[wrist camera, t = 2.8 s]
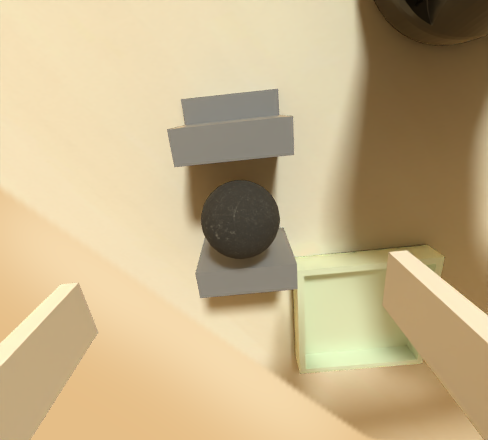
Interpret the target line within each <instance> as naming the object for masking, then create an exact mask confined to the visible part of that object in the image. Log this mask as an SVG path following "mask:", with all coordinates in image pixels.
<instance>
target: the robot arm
mask: <svg viewBox="0 0 488 440" xmlns="http://www.w3.org/2000/svg"><path fill="white" fill-rule="evenodd" d="M374 1H375V3H376V5H377V6H378V8H379V10H380V11H381V13H382V14H383V16H384V17H385V18H386V19H387V21H388V22H389V23H390V24H391V25H392V26H393V27H394V28H395V29H397V30H398V31H399V32H400V33H402V34H403V35H405V36H407V37H409V38H411V39H413V40H415V41H418V42H421V43H425V44H430V45H453V44H459V43H463V42H467V41H470V40H473V39H477V38H480V37H483V36H486V35H488V0H374ZM382 305H383V307H384V308H385V309H386V311H387V312H388V313H389V315H390V316H391V317H392V319H393V320H394V321H395V323H396V324H397V325H398V327H399V328H400V329H401V330H402V332H403V333H404V334H405V336H406V337H407V338H408V340H409V341H410V342H411V344H412V345H413V346H414V348H415V349H416V350H417V352H418V353H419V354H420V356H421V357H422V358H423V360H424V361H425V362H426V364H427V365H428V366H429V368H430V369H431V370H432V371H433V373H434V374H435V375H436V377H437V378H438V379H439V381H440V382H441V383H442V385H443V386H444V387H445V389H446V390H447V391H448V393H449V394H450V395H451V397H452V398H453V399H454V401H455V402H456V403H457V405H458V406H459V407H460V409H461V410H462V411H463V412H464V414H465V415H466V416H467V418H468V419H469V420H470V422H471V423H472V424H473V426H474V427H475V428H476V430H477V431H478V432H479V434H480V435H481V436H482V438H483V439H484V440H488V315H487V314H485V313H484V312H483V311H482V310H480V309H479V308H478V307H477V306H475V305H474V304H473V303H472V302H470V301H469V300H468V299H467V298H466V297H464V296H463V295H462V294H461V293H459V292H458V291H457V290H456V289H454V288H453V287H452V286H451V285H449V284H448V283H447V282H446V281H444V280H443V279H442V278H441V277H440V276H438V275H437V274H436V273H435V272H433V271H432V270H431V269H430V268H428V267H427V266H426V265H425V264H423V263H422V262H421V261H420V260H418V259H417V258H416V257H415V256H414V255H412V254H411V253H410V252H409V251H407V250H405V251H395V252H389V253H388V262H387V270H386V278H385V287H384V295H383V304H382ZM97 334H98V331H97V328H96V326H95V323H94V321H93V318H92V315H91V313H90V310H89V308H88V305H87V303H86V300H85V298H84V295H83V293H82V290H81V288H80V285H79V283H71V284H61V285H60V286H59V287H58V288H57V289H56V290H55V291H54V292H53V293H51V295H50V296H48V298H46V299H45V300H44V301H43V302H42V303H41V304H40V305H39V306H38V307H37V308H36V309H35V310H34V311H33V312H32V313H31V314H30V315H29V316H28V317H27V318H26V319H25V320H24V321H23V322H22V323H21V324H20V325H19V326H18V327H17V328H16V329H15V330H14V331H12V333H10V334H9V335H8V336H7V337H6V338H5V339H4V340H3V341H2V342H1V343H0V440H30V439H31V438H32V436H33V435H34V433H35V432H36V430H37V429H38V427H39V425H40V423H41V422H42V421H43V419H44V417H45V416H46V414H47V413H48V411H49V410H50V408H51V406H52V405H53V403H54V401H55V400H56V398H57V397H58V395H59V394H60V392H61V391H62V389H63V387H64V386H65V384H66V382H67V381H68V379H69V378H70V376H71V375H72V373H73V371H74V370H75V368H76V367H77V365H78V364H79V362H80V360H81V359H82V357H83V356H84V354H85V353H86V351H87V349H88V348H89V346H90V345H91V343H92V341H93V340H94V338H95V337H96V335H97Z"/></svg>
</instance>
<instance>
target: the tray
mask: <svg viewBox="0 0 488 440" xmlns="http://www.w3.org/2000/svg"><path fill="white" fill-rule="evenodd" d="M405 250H407V251H409V252H410V253H411V254H412V255H414V256H415V257H416V258H417V259H418V260H420V261H421V262H422V263H423V264H425V265H426V266H427V267H428V268H430V269H431V270H432V271H433V272H435V273H436V274H437V275H438V276H440V277H441V273H442V269H443V264H444V259H445V257H444V256H443V255H441V254H440V253H438V252H437V251H436V250H434V249H433V248H431V247H430V246H429V245H419V246H409V247H398V248H387V249H377V250H366V251H356V252H345V253H334V254H324V255H313V256H303V257H295V260H296V263H297V283H298V289H294V290H293V297H294V325H295V354H296V359H297V364H298V368H299V372H300V374H305V373H317V372H329V371H340V370H352V369H364V368H376V367H387V366H399V365H411V364H422V362H423V358H422V357H421V356H420V354H419V353H418V352H417V350H416V349H415V348H414V346H413V345H412V344H411V342H410V341H409V340H408V338H407V337H406V336H405V334H404V333H403V332H402V330H401V329H400V328H399V327H398V325H397V324H396V323H395V321H394V320H393V319H392V317H391V316H390V315H389V313H388V312H387V311H386V309H385V308H384V307H383V305H382V304H383V295H384V287H385V278H386V270H387V262H388V253H389V252H395V251H405Z"/></svg>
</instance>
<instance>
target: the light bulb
mask: <svg viewBox="0 0 488 440" xmlns="http://www.w3.org/2000/svg"><path fill="white" fill-rule="evenodd" d="M279 223H280V217H279V211H278V206H277V204H276V202H275V200H274V199H273V197H272V196H271V195H270V193H269V192H268V191H267V190H265V189H264V188H263V187H261V186H260V185H258V184H256V183H253V182H250V181H246V180H236V181H231V182H227V183H225V184H223V185H221V186H219V187H218V188H217V189H216V190H214V191H213V192H212V193H211V194H210V196H209V197H208V198H207V200H206V202H205V204H204V206H203V211H202V215H201V225H202V229H203V233H204V235H205V238H206V239H207V241H208V242H209V244H210V245H211V246H212V247H213V248H214V249H215V250H216V251H217V252H219V253H220V254H222V255H224V256H226V257H230V258H234V259H246V258H251V257H254V256H256V255H259V254H261V253H262V252H264V251H265V250H266V249H267V248H268V247H269V246H270V245H271V244H272V242H273V241H274V239H275V238H276V235H277V232H278V229H279Z"/></svg>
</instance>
